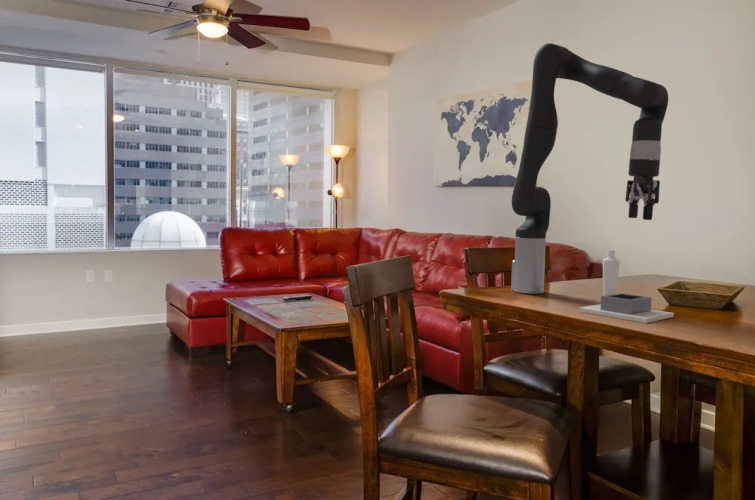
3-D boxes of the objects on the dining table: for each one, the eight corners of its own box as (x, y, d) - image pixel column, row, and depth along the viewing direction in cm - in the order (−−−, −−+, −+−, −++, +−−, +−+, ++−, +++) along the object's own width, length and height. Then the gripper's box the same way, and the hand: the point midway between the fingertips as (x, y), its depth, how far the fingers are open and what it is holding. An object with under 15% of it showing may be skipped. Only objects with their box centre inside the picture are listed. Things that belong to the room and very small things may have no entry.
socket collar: (600, 309, 153) (601, 296, 153) (619, 306, 159) (620, 293, 159) (631, 314, 147) (632, 300, 146) (650, 310, 152) (651, 297, 152)
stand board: (578, 311, 155) (578, 307, 155) (607, 306, 164) (607, 302, 164) (645, 323, 141) (645, 319, 141) (673, 316, 150) (673, 312, 150)
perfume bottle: (619, 304, 168) (621, 251, 166) (602, 303, 168) (605, 250, 167) (616, 301, 172) (618, 250, 171) (600, 301, 173) (602, 249, 172)
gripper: (619, 159, 167) (615, 217, 168) (643, 156, 153) (638, 220, 154) (646, 160, 167) (641, 218, 169) (672, 157, 153) (666, 221, 155)
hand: (639, 218), depth 161 cm, fingers open, 8 cm apart
